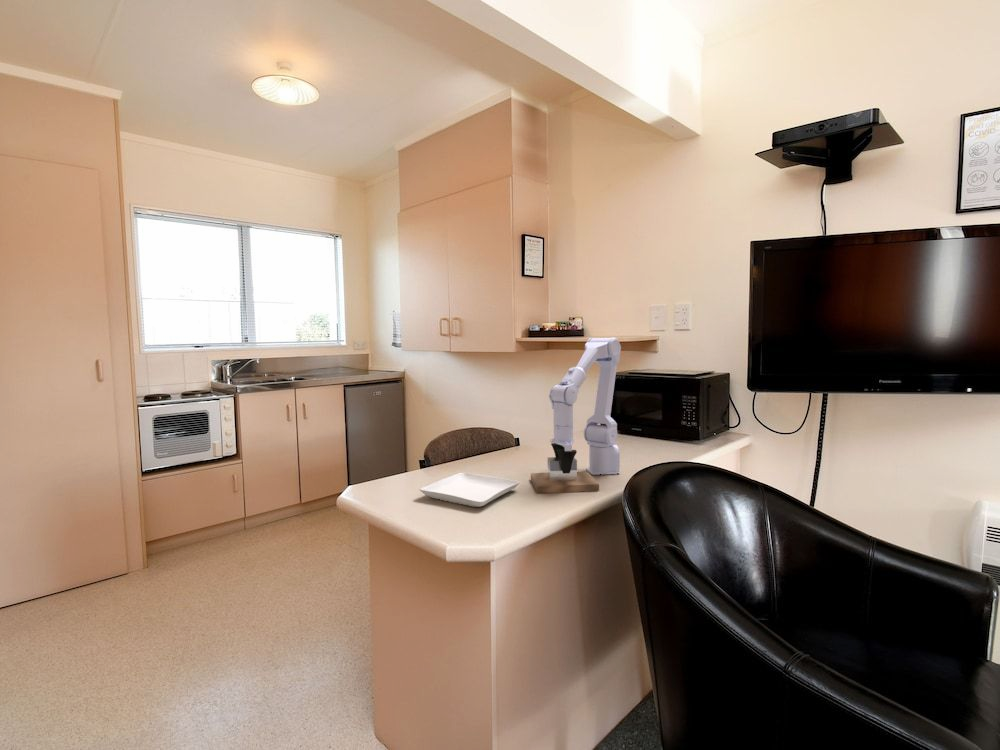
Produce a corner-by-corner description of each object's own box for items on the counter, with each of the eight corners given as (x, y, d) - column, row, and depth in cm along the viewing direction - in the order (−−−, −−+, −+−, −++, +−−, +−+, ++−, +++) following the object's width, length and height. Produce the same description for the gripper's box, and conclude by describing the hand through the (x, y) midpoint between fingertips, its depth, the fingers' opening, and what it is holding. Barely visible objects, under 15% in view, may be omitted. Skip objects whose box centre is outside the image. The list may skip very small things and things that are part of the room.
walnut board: (587, 477, 157) (587, 471, 157) (599, 490, 143) (599, 484, 143) (530, 479, 156) (530, 473, 156) (537, 493, 142) (537, 486, 142)
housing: (547, 476, 151) (547, 457, 151) (573, 475, 152) (573, 456, 151) (550, 481, 147) (550, 461, 146) (576, 480, 147) (576, 460, 147)
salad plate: (521, 491, 145) (521, 479, 145) (482, 514, 127) (481, 500, 127) (461, 481, 156) (461, 470, 156) (417, 501, 138) (417, 489, 137)
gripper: (545, 421, 155) (546, 464, 156) (554, 429, 141) (554, 476, 142) (568, 420, 156) (568, 463, 157) (579, 429, 141) (579, 475, 142)
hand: (563, 469), depth 149 cm, fingers open, 7 cm apart
